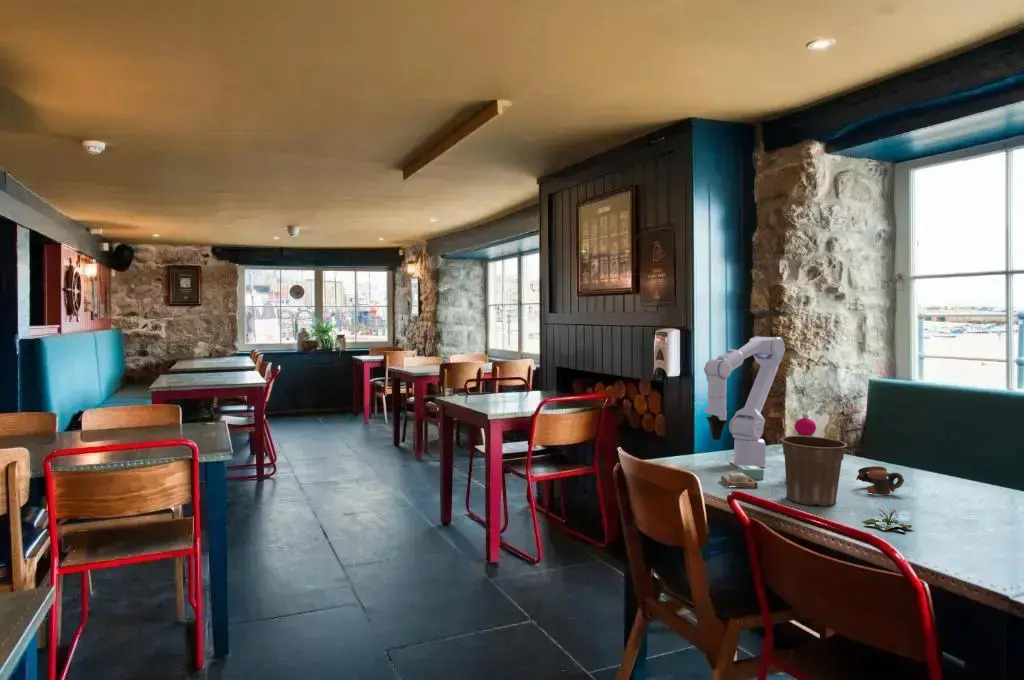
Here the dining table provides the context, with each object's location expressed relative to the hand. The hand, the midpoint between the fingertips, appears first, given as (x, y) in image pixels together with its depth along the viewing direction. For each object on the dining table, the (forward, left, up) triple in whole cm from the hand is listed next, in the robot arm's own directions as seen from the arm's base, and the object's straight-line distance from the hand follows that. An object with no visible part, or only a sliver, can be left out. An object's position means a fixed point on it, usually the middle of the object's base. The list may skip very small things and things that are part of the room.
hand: (716, 439), depth 220 cm
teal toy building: (-8, +9, -10) cm, 16 cm away
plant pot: (-16, +35, -10) cm, 40 cm away
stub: (-2, +18, -10) cm, 21 cm away
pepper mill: (-24, +10, -10) cm, 28 cm away
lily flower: (-25, +57, -11) cm, 63 cm away
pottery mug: (-39, +25, -10) cm, 48 cm away
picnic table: (-2, +18, -10) cm, 21 cm away
